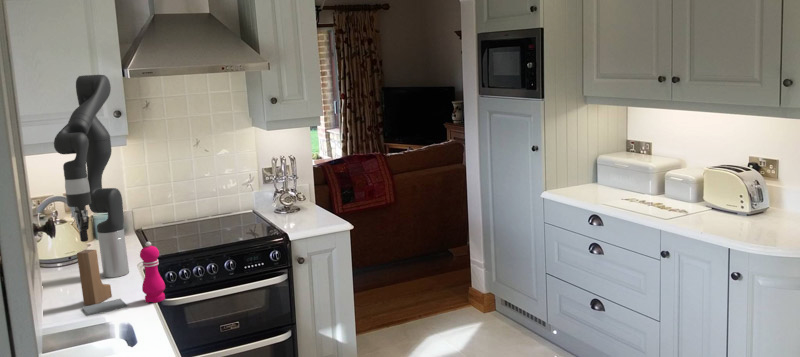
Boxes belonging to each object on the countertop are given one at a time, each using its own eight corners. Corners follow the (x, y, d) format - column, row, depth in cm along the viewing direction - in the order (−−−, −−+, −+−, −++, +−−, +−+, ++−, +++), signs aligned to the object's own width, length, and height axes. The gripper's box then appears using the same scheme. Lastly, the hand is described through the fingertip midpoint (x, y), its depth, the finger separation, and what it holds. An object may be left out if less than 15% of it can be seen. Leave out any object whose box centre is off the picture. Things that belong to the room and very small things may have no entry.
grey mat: (82, 309, 233) (82, 307, 233) (120, 300, 240) (120, 298, 240) (87, 315, 226) (87, 313, 226) (127, 306, 233) (126, 304, 233)
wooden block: (101, 296, 246) (94, 245, 243) (112, 296, 245) (105, 245, 242) (83, 305, 237) (76, 252, 234) (95, 305, 236) (87, 252, 233)
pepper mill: (144, 305, 233) (137, 245, 230) (143, 299, 240) (135, 241, 236) (167, 301, 236) (160, 242, 233) (165, 295, 242) (158, 237, 239)
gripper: (93, 191, 240) (100, 242, 242) (85, 188, 250) (91, 236, 253) (69, 195, 235) (76, 246, 238) (62, 191, 246) (69, 240, 249)
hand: (84, 241), depth 245 cm, fingers closed
